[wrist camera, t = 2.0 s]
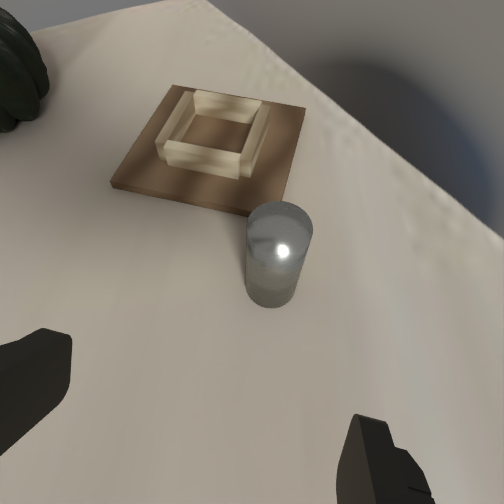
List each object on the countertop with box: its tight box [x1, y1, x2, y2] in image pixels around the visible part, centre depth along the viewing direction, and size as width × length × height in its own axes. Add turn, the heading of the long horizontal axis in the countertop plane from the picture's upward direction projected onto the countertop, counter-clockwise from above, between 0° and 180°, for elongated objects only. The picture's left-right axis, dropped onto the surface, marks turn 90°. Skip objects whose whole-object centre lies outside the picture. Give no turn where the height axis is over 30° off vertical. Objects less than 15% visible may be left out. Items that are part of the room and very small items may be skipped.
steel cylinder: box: [246, 201, 313, 308], centre depth 26 cm, size 4×4×9 cm
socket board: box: [110, 85, 306, 217], centre depth 38 cm, size 18×18×4 cm
